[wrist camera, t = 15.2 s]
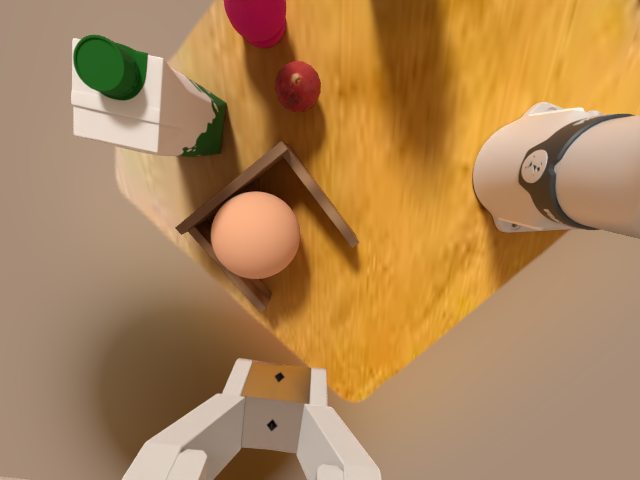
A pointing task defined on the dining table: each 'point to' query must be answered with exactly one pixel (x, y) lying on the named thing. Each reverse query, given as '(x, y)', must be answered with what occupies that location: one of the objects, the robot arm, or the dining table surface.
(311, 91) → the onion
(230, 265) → the rubber ball
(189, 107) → the milk carton
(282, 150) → the corral
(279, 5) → the pepper mill
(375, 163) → the dining table surface
